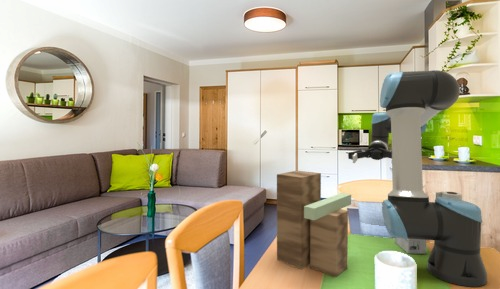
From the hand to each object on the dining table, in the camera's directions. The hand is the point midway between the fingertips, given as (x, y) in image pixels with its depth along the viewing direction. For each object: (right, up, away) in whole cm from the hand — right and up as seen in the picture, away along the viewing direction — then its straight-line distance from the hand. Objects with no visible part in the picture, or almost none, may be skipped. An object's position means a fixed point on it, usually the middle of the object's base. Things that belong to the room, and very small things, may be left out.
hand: (372, 159), depth 109 cm
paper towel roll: (+29, -34, +1) cm, 44 cm away
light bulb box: (+15, -34, +2) cm, 37 cm away
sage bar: (-20, -16, -15) cm, 29 cm away
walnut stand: (-25, -35, -10) cm, 44 cm away
